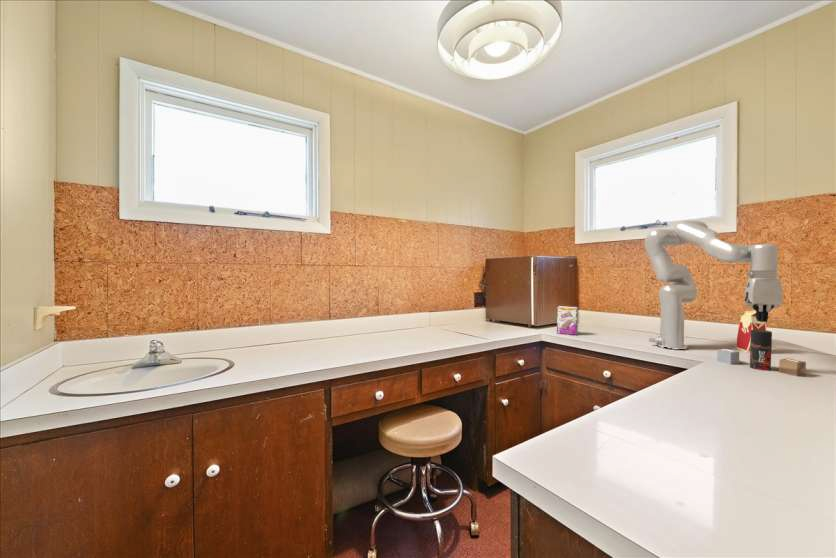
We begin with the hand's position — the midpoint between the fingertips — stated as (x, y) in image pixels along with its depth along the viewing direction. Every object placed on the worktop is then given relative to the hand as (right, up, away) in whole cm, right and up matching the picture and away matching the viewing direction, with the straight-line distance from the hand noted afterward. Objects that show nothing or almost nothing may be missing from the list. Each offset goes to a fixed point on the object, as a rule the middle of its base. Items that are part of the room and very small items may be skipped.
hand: (761, 321), depth 134 cm
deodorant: (0, -19, +1) cm, 19 cm away
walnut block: (+6, -19, -6) cm, 21 cm away
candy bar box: (-47, -17, +69) cm, 85 cm away
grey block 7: (-5, -19, +9) cm, 21 cm away
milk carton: (+23, -18, +27) cm, 39 cm away
